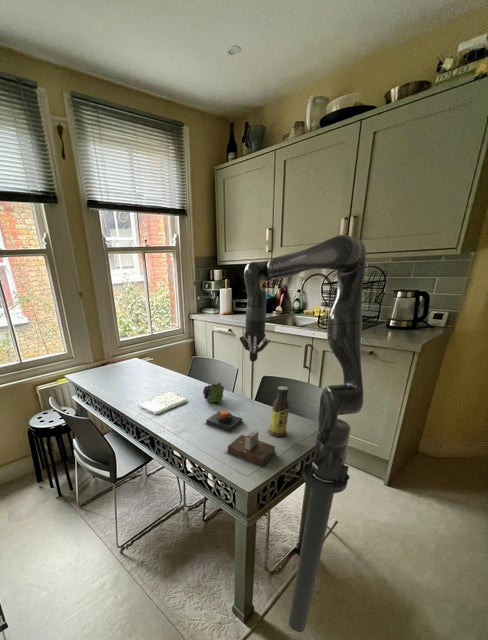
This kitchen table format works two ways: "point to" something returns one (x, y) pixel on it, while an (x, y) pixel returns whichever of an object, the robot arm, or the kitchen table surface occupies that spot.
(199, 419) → the kitchen table surface
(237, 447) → the base
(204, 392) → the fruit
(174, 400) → the calculator
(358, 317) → the robot arm
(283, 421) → the sauce bottle
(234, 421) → the push button box
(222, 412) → the button
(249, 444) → the tap lever
